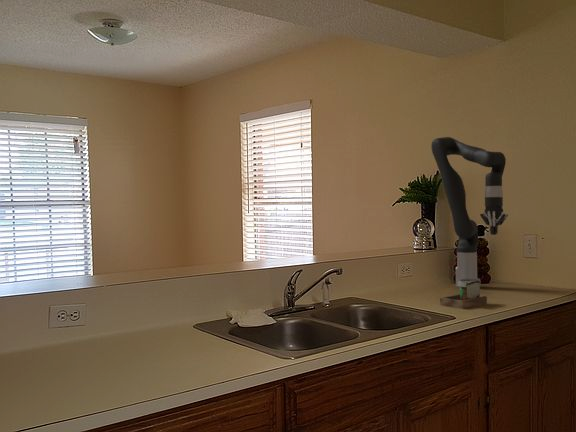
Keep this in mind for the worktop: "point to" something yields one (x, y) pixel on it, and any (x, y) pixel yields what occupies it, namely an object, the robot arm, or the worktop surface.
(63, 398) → the worktop surface
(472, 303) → the bay
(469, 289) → the food container
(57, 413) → the worktop surface
